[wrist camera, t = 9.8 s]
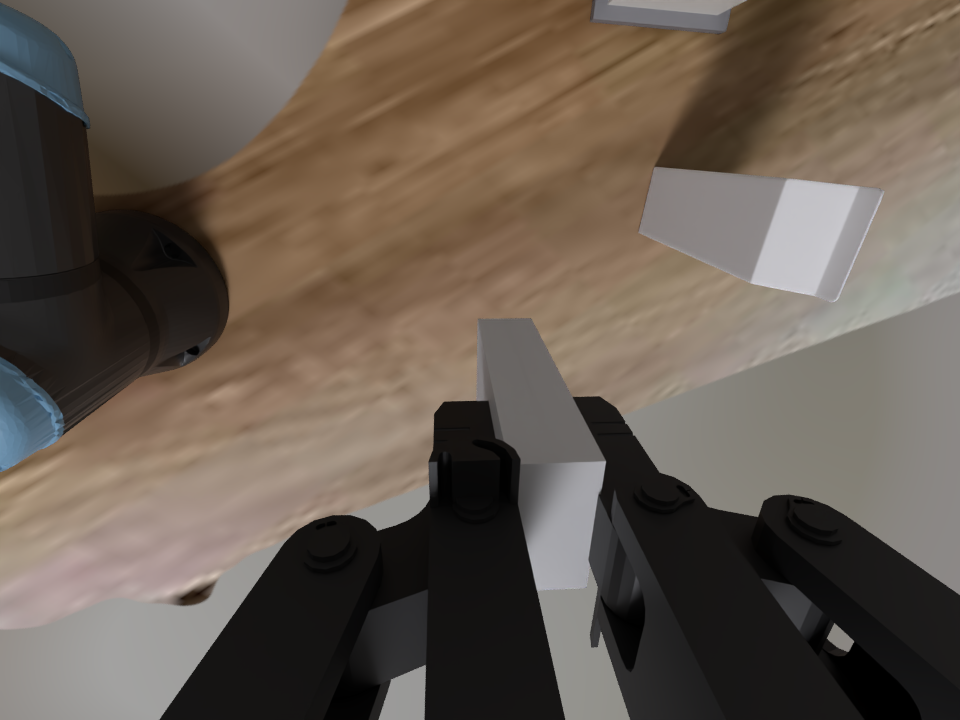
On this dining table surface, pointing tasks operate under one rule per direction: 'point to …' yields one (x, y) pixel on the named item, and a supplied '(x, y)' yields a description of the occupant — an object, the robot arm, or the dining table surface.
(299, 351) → the dining table surface
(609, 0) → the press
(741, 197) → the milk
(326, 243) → the dining table surface
